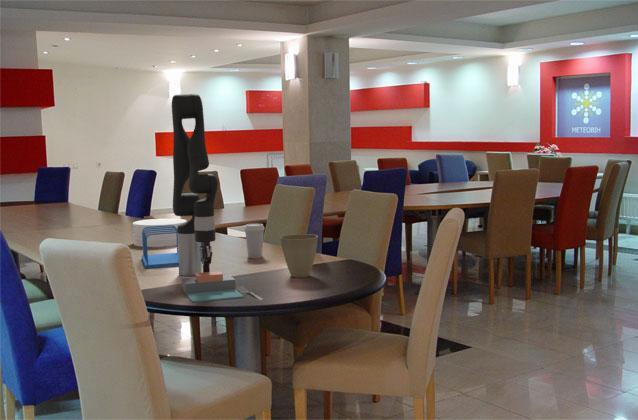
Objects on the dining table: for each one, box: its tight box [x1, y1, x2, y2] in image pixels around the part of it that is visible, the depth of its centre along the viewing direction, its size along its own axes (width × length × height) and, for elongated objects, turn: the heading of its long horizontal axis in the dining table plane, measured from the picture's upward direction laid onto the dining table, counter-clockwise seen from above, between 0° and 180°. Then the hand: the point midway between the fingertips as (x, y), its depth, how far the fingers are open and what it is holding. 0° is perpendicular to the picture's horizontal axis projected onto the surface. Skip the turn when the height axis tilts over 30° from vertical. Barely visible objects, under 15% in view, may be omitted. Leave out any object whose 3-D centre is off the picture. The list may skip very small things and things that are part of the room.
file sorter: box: [141, 225, 179, 269], centre depth 312 cm, size 25×17×15 cm
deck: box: [180, 274, 236, 295], centre depth 256 cm, size 10×18×4 cm, turn 110°
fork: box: [235, 285, 264, 301], centre depth 245 cm, size 3×24×2 cm, turn 31°
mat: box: [185, 288, 244, 303], centre depth 245 cm, size 12×18×1 cm, turn 110°
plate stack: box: [132, 218, 188, 248], centre depth 370 cm, size 28×28×12 cm
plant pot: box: [280, 233, 319, 278], centre depth 278 cm, size 15×15×16 cm
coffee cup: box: [243, 223, 266, 259], centre depth 323 cm, size 10×10×15 cm
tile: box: [194, 270, 224, 283], centre depth 254 cm, size 6×9×2 cm, turn 110°
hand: (206, 274), depth 258 cm, fingers closed
